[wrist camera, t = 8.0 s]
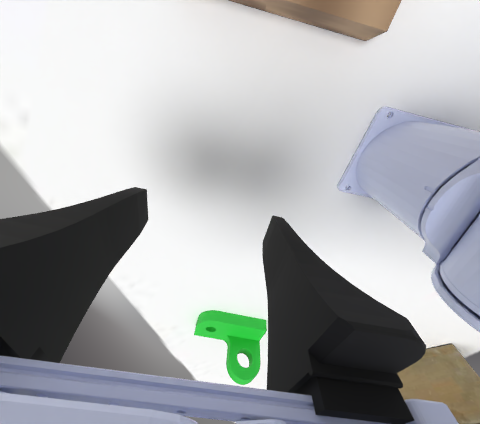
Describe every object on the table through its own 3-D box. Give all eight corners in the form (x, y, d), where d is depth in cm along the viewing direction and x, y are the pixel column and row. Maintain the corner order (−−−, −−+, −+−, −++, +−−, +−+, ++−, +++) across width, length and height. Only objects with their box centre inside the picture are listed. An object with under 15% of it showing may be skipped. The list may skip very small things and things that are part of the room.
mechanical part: (265, 319, 35) (269, 373, 28) (255, 334, 38) (257, 387, 31) (201, 306, 33) (189, 360, 27) (196, 323, 36) (184, 376, 30)
